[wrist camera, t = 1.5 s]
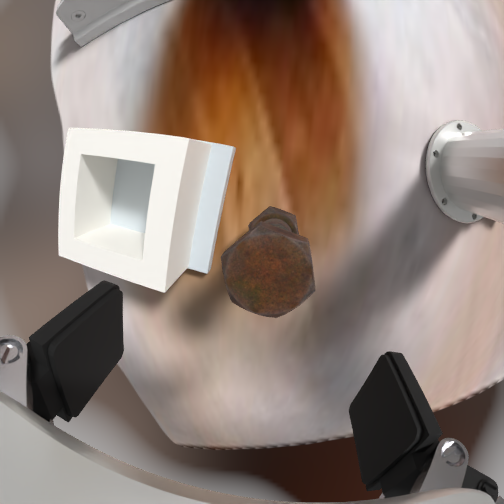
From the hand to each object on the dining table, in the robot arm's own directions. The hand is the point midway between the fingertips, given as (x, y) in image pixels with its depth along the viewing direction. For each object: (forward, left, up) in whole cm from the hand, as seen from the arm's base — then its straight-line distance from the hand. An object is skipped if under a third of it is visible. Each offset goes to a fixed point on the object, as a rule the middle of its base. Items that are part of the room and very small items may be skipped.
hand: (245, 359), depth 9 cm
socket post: (+15, 0, -22) cm, 27 cm away
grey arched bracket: (+27, -27, -23) cm, 44 cm away
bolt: (0, 0, -22) cm, 22 cm away
